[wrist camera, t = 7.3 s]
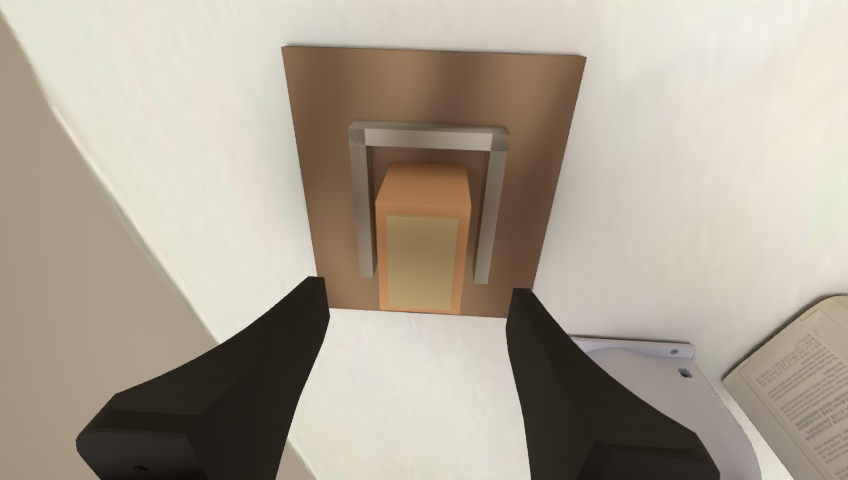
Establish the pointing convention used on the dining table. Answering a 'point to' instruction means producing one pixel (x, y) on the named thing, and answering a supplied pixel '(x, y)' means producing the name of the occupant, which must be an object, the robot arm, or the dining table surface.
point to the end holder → (430, 155)
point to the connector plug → (422, 237)
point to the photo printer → (801, 392)
